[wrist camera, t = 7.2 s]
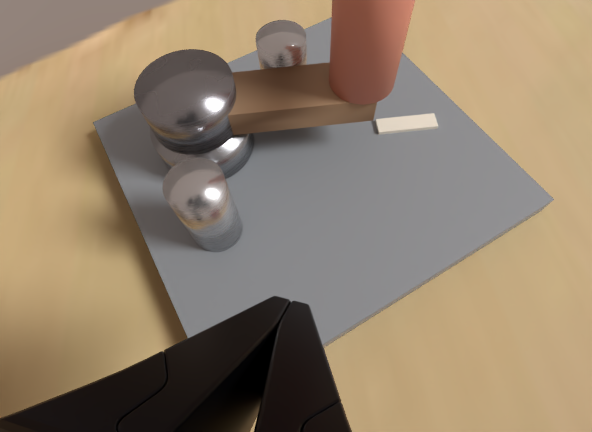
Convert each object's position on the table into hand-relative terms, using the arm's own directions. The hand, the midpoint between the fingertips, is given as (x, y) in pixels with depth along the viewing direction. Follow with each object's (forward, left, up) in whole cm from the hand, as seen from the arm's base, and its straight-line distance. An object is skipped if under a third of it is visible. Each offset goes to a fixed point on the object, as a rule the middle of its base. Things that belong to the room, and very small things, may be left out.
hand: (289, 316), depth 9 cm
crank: (+5, +10, -6) cm, 13 cm away
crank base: (+5, +8, -9) cm, 14 cm away
